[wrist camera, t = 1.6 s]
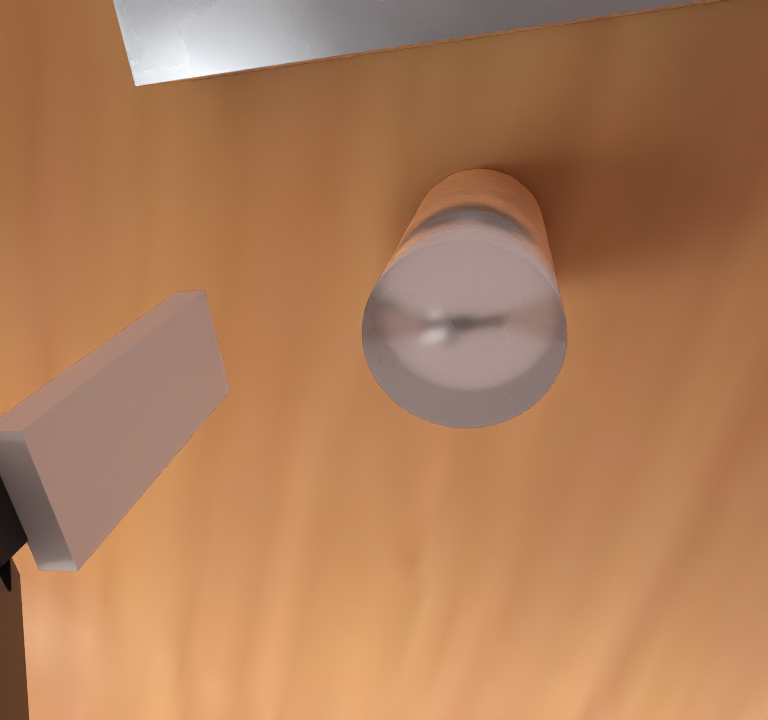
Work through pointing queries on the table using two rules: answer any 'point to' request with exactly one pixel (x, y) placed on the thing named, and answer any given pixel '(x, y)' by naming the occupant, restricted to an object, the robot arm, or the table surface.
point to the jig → (326, 29)
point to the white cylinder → (468, 306)
